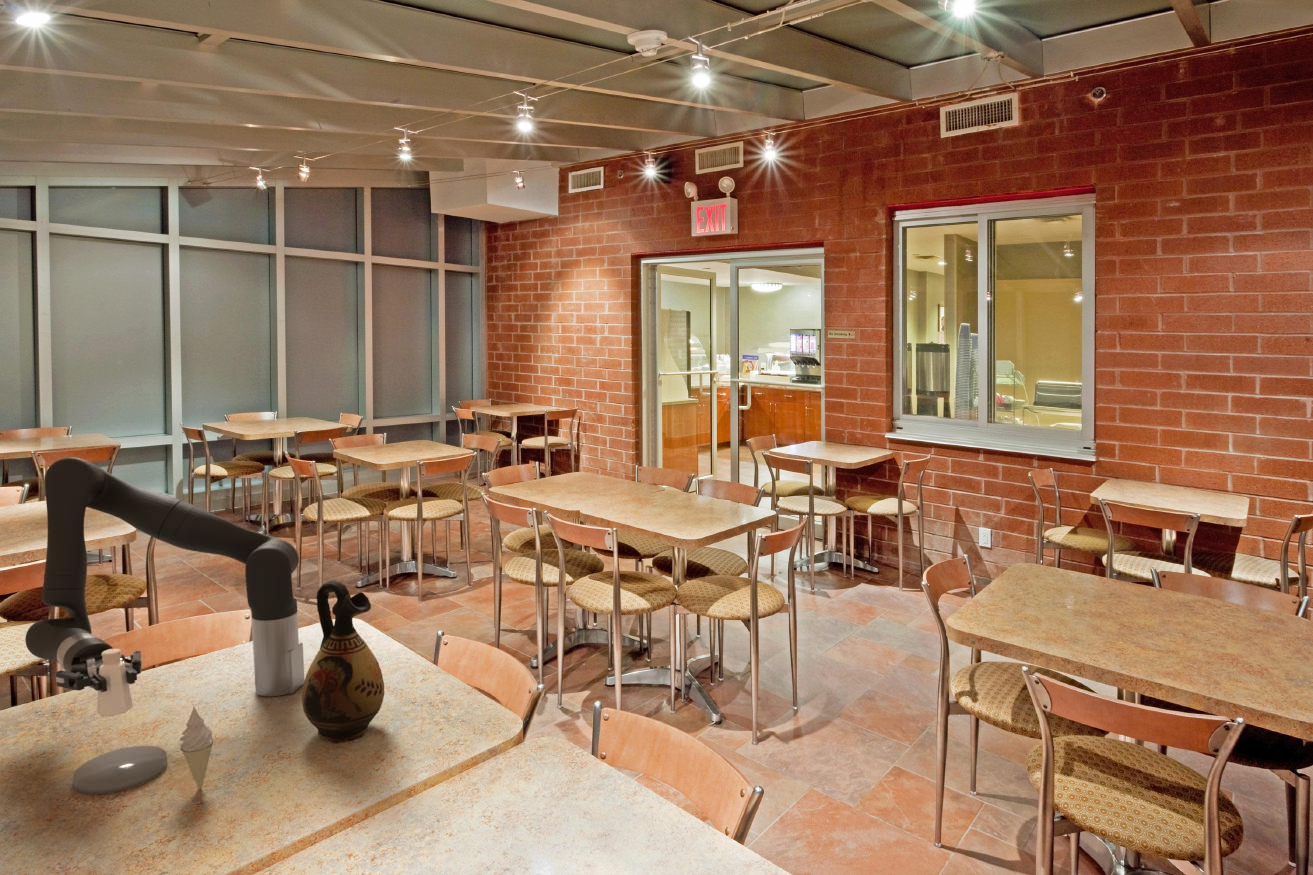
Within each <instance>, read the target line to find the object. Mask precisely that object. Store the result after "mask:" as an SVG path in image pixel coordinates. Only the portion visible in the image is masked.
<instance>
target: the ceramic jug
mask: <svg viewBox="0 0 1313 875" xmlns="http://www.w3.org/2000/svg"><path fill="white" fill-rule="evenodd" d="M346 586H347V585H345V584H344V583H342V582H339V581H336V580H330V581H328V582H326V583H323V584H322V585H321V586H320V587H319V588H318V590H317V592H316V610H317V613H318V618H319V623H320V627H321V631H322V635H323V636H322V640H321V643H320V647H319V650H318V651H317V653H316V654H315V656H314V658H313V660H312V662H311V664H310V665H309V668H308V671H307V672H306V675H305V677H304V680H305V681H304V683H303V684H302V690H301V705H302V711H303V713H304V715H305V716H306V718H307V720H308V721H309V723H310V724H312V726H313V727H314V728H316V729H317V735H318V737H319V738H320V739H321V740H324V741H326V742H329V743H333V744H338V743H339V744H340V743H343V742H348V741H349V742H351V741H354V740H357V739H359V738H362V737H363V735H364V734H366V733H367V732H368V730H369V725H370V723H371V722H372V721H373V719H374V718H375V717H376V715H377V714H378V713H379V711H380V710H381V708H382V705H383V702H384V697H385V683H384V681H385V680H384V678H383V673H382V669H381V667H380V663H379V661H378V660H377V657H376V656H375V655H374V652H372V650H371V649H370V647H369V645H368V644H367V643H366V642H365V640H364V639H363V638H362V637H361V636H360V634H359V633H358V631H357V629H356V628H355V627H354V624H353V623H354V622H353V618H354V617H357V616H358V615H362V614H365V613H368V612H370V611H371V609H372V604H371V602H370V599H369V597H368V596H367V595H366V594H365V593H364V592H362V591H360V592H358V593H356V594H354V595H353V596H352V597H351V594H350V591H349V590H348V588H347V587H346ZM330 593H334V594H335V597H336V602H335V603H334V605H333V606H332V607H331V608H330V603H329V598H330V597H329V595H330ZM332 614H333V615H334V621H333V619H332Z"/></svg>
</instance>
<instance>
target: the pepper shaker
mask: <svg viewBox="0 0 1313 875" xmlns="http://www.w3.org/2000/svg"><path fill="white" fill-rule="evenodd" d="M120 654H121V649H120V648H114V649H108V650H106V651H103V652H102V654H101V655H102V657H103V658H102V661H103V665H101V666H100V667H99V674H100V675H101V676H102V677H104V678H105V679H106V682H107V691H105V692H101V691H100V690H99V691H97V701H96V713H97V714H98V715H99V717H115V716H119V715H122V714H126V713H127V712H129V711H130V710H131V709H133V707H134V704H133V699H132V694H131V690H130V689H131V688H130V684H129V683H127V676H126V668H125V664H124V663H123V662H122V661H120V658H121V657H120Z"/></svg>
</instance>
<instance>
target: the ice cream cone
mask: <svg viewBox="0 0 1313 875" xmlns="http://www.w3.org/2000/svg"><path fill="white" fill-rule="evenodd" d="M185 725H186V727H187V728H186V729H185V730H184V731H182V732H181V733H180V734H182V735H183V736H181V737H180V738H178V739H179V741H180V742H182V743H181V744H179V747H180V749H179V750H180V752H182V754H183V757H184V759H185V761H186V764H187V765H188V769H189V771H190V773H191V775H192V778H193V780H194V782H195V784H196V787H197V789H198V790H199V791H200V790H202V789H203V785H204V781H205V777H206V773H207V770H208V765H209V762H210V757H211V754H212V748H213V745H214V743H215V740H214V739H213V730H212V729H211V728H210V726H207V725H206V724H205V720H204V719H203V717H201V716H200V714H199V713H198V711H197V709H196V707H195V706H193V708H192V711H191V714H190V716H189V718H188V720H187V722H186V724H185Z"/></svg>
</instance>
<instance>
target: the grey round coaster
mask: <svg viewBox="0 0 1313 875" xmlns="http://www.w3.org/2000/svg"><path fill="white" fill-rule="evenodd" d="M167 766H168V754H167V751H166V750H165V749H163V748H161V747H159V746H156V745H155V746H153V745H138V746H137V745H134V746H127V747H123V748H119V749H114V750H111V751H109V752H105V753H102V754H100V755H97V756H95V757H94V758H91V759H89V760H87V761H86V762H85V763H83V764H82V765H80V766H79V767H78V768H77V769H76V770H75V771H74V773H73V776H72V779H73V787H74V789H75V791H77V792H78V791H79V792H78V793H81V794H84V795H92V794H99V795H105V794H104V793H109V794H112V793H111V792H115V793H119V792H118V791H120V792H123V791H122V790H124V791H127V790H130V789H129V788H131V789H133V788H136V787H138V786H141V785H143V784H142V783H144V784H145V783H147V782H150V781H151V780H153V779H154V778H157V777H158V776H159V775H161V774H162V773H163V772H164V771H165V770H166V768H167ZM140 784H141V785H140ZM132 787H133V788H132ZM126 789H127V790H126ZM102 793H103V794H102Z"/></svg>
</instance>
